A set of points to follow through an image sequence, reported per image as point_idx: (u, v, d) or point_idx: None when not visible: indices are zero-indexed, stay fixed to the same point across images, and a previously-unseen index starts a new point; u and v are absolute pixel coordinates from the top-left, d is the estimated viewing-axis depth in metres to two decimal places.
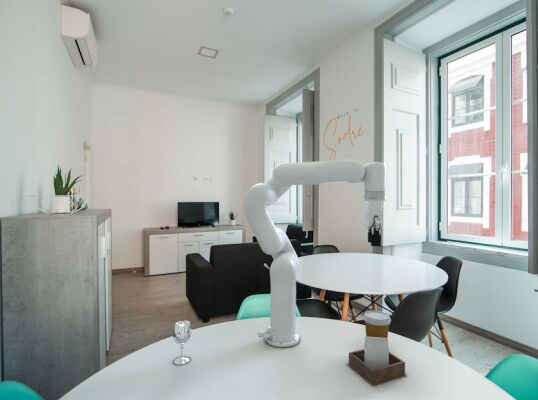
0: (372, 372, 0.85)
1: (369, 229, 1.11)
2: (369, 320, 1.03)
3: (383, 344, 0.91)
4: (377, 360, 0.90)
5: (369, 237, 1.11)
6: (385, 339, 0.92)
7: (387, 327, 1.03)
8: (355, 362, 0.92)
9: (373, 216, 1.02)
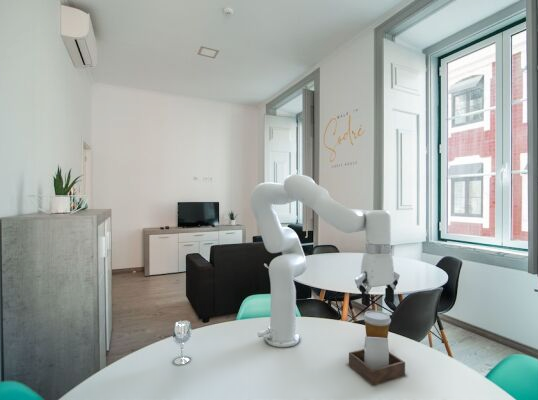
0: (372, 372, 0.85)
1: (386, 285, 0.96)
2: (369, 320, 1.03)
3: (383, 344, 0.91)
4: (377, 360, 0.90)
5: (386, 294, 0.96)
6: (385, 339, 0.92)
7: (387, 327, 1.03)
8: (355, 362, 0.92)
9: (363, 272, 0.92)
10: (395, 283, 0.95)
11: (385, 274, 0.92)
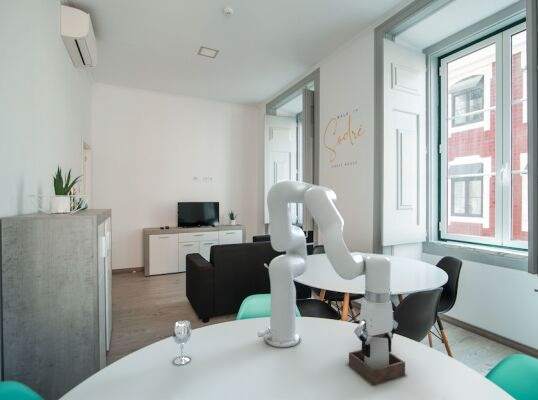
0: (372, 372, 0.85)
1: (383, 332, 0.95)
2: None
3: (383, 344, 0.91)
4: (377, 360, 0.90)
5: None
6: (385, 339, 0.92)
7: None
8: (355, 362, 0.92)
9: (362, 319, 0.91)
10: (393, 331, 0.94)
11: (384, 322, 0.90)
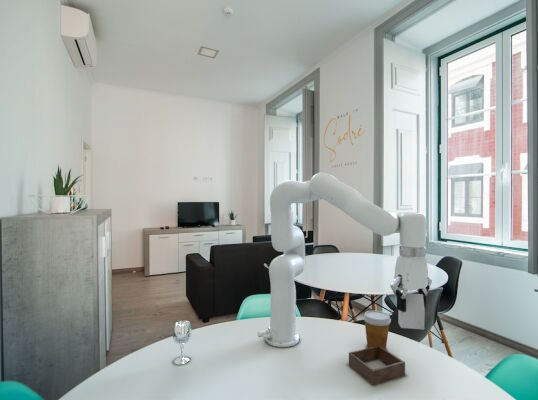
0: (372, 372, 0.85)
1: (417, 290, 0.95)
2: (369, 320, 1.03)
3: (418, 300, 0.91)
4: (413, 315, 0.90)
5: None
6: (420, 295, 0.92)
7: (387, 327, 1.03)
8: (355, 362, 0.92)
9: (397, 275, 0.91)
10: (427, 288, 0.94)
11: (420, 277, 0.90)
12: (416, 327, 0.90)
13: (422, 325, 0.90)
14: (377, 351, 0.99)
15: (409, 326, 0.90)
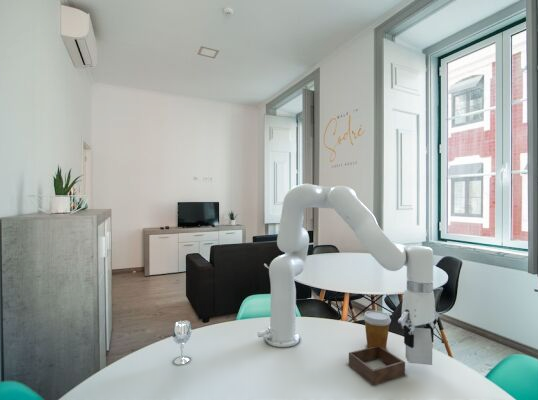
0: (372, 372, 0.85)
1: (424, 323, 0.94)
2: (369, 320, 1.03)
3: (426, 334, 0.91)
4: (421, 351, 0.90)
5: None
6: (428, 330, 0.91)
7: (387, 327, 1.03)
8: (355, 362, 0.92)
9: (405, 310, 0.90)
10: (434, 322, 0.94)
11: (427, 313, 0.90)
12: (424, 362, 0.90)
13: (430, 360, 0.89)
14: (377, 351, 0.99)
15: (417, 361, 0.90)
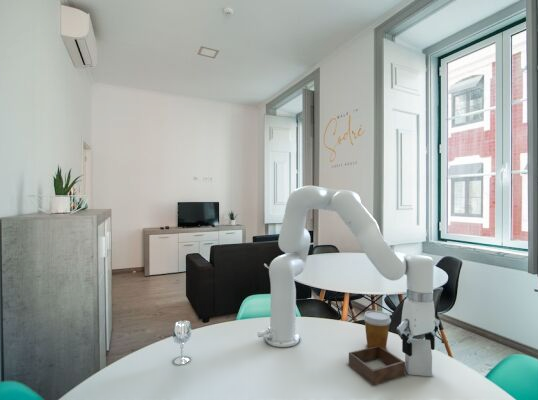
0: (372, 372, 0.85)
1: None
2: (369, 320, 1.03)
3: (426, 346, 0.91)
4: (420, 362, 0.90)
5: None
6: (427, 341, 0.91)
7: (387, 327, 1.03)
8: (355, 362, 0.92)
9: (404, 319, 0.90)
10: (435, 329, 0.94)
11: (427, 322, 0.90)
12: (423, 374, 0.90)
13: (429, 372, 0.89)
14: (377, 351, 0.99)
15: (416, 373, 0.90)
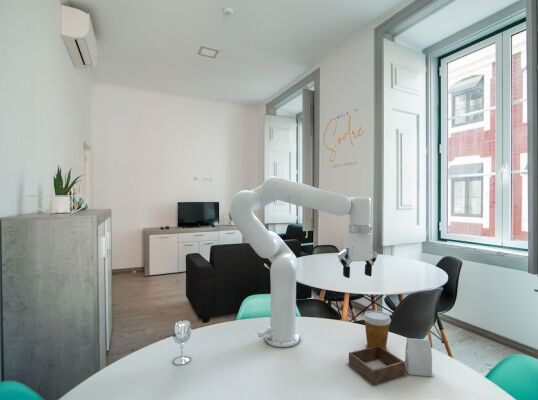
0: (372, 372, 0.85)
1: (365, 261, 1.12)
2: (369, 320, 1.03)
3: (426, 346, 0.91)
4: (420, 362, 0.90)
5: (365, 269, 1.12)
6: (427, 341, 0.91)
7: (387, 327, 1.03)
8: (355, 362, 0.92)
9: (345, 248, 1.08)
10: (373, 260, 1.11)
11: (364, 251, 1.07)
12: (423, 374, 0.90)
13: (429, 372, 0.89)
14: (377, 351, 0.99)
15: (416, 373, 0.90)
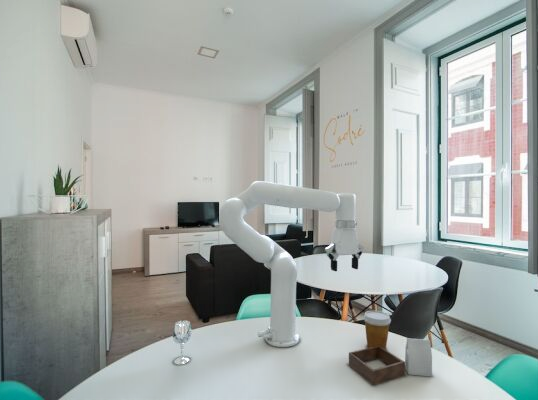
0: (372, 372, 0.85)
1: (352, 255, 1.17)
2: (369, 320, 1.03)
3: (426, 346, 0.91)
4: (420, 362, 0.90)
5: (352, 263, 1.17)
6: (427, 341, 0.91)
7: (387, 327, 1.03)
8: (355, 362, 0.92)
9: (332, 243, 1.13)
10: (359, 253, 1.16)
11: (350, 245, 1.12)
12: (423, 374, 0.90)
13: (429, 372, 0.89)
14: (377, 351, 0.99)
15: (416, 373, 0.90)
